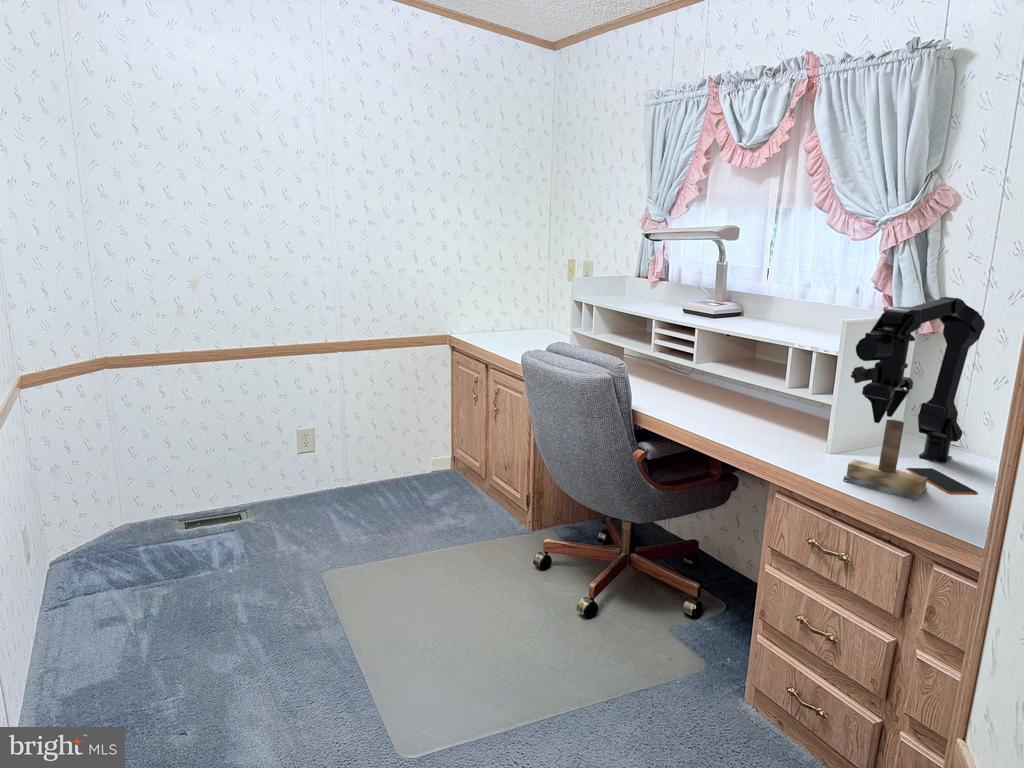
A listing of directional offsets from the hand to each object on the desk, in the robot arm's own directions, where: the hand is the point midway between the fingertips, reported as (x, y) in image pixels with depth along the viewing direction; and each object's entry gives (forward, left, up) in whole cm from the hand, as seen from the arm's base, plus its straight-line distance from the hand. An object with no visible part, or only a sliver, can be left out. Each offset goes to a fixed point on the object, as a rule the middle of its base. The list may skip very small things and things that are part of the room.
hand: (883, 419), depth 172 cm
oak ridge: (+12, +6, -13) cm, 19 cm away
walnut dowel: (+12, +6, -9) cm, 16 cm away
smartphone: (-3, +14, -14) cm, 20 cm away
